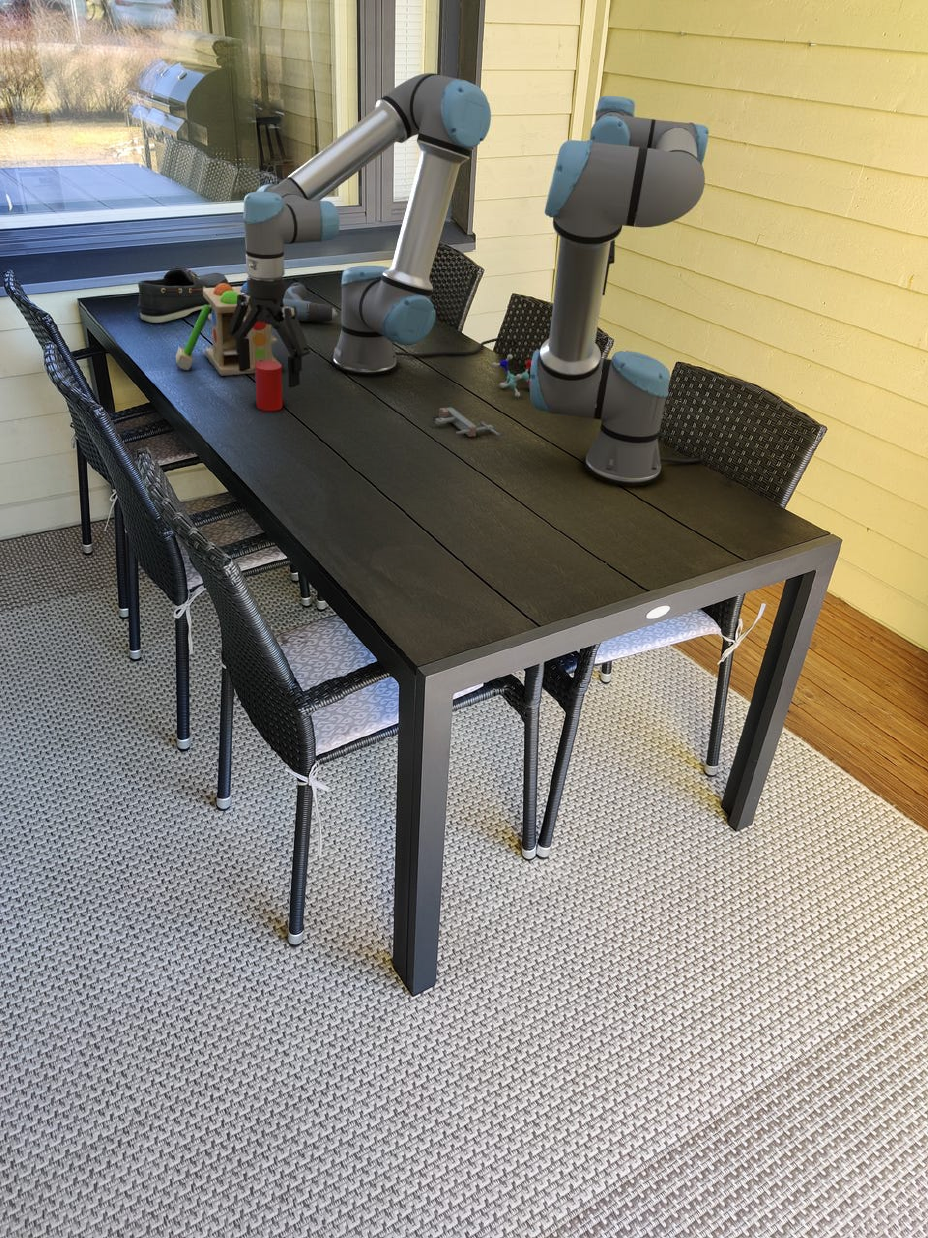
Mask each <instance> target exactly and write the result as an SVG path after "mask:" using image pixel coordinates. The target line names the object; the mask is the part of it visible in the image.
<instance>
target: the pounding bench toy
mask: <svg viewBox="0 0 928 1238" xmlns="http://www.w3.org/2000/svg"><path fill="white" fill-rule="evenodd" d="M246 292H247V282H245V283H244V284H243V285H242V286H232V285H230V284H229V285H228V284H226V283H221V284H218V285H217V286H216V287H215V288H204V289H203V296H204V297H205V299H206V300H207V301H208V302H209V304H210V305H211V307H210V306H208V305H204V307H203V309H201V312H200V313H199V316H198V318H197V320H196V322H195V324H194V327H193V329H192V331H191V332H190V333H191V334H190V336H189V338H188V340H187V343H186V344H185V347H184V348H182V347H180V346H179V347H178V349H177V351H176V354H175V357H174V358H175V362H176V365H177V366H178V368H179V369H182V370H185V371H189V370H190V369H191V367H192V365H193V363H194V356H193V351H194V348H195V347H196V345H197V342H198V340H199V337H200V336H201V333H202V332H203V329H204V326H205V325H206V322H207V320H209V321H210V322H211V336H212V337H211V338H212V339H211V340H212V348H205V349H204V352H205V353H204V355H205V357H206V359H208V361H209V363H210V364H211V365H212V366H213V367H214V369H215V370H216V371H217V372H218V374H219V375H220V376H222V377H223V376H234V375H235V376H236V375H246V374H247V375H250V374H255V364H256V363H257V362H260V361H275V362H278V363H280V362H279V360H278V359H277V358H276V357H275V356H274V355H273V348H272V347H273V345H272V344H276V343H278V342H279V341H278V339H277V338H276V337H275V336H274V334H272V325H269V324H266V323H265V322H259V321H257V322H256V324H255V325H254V326H253V328H252V329H251V330H250V332H249V333H248V334H247V337H244V339H245V338H248V339H249V348H250V369H248V370H245V371H242V372H241V371H239V356H238V354H237V352H236V340H235V339H234V336H232V335H229V334H228V333H227V330H228V327H229V325H230V322H231V319H232V316H233V314H234V311H235V308H236V306H237V296H238V295H239V294H243V293H246ZM251 310H252V309H251V307H250V305H249V306H248V309H247V312H246V315H245V317H244V320H243V323H244V321H245V320H246V319H247V316H248V314H249V313H250V312H251ZM243 323H242V324H243Z"/></svg>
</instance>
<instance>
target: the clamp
mask: <svg viewBox="0 0 928 1238" xmlns="http://www.w3.org/2000/svg"><path fill="white" fill-rule="evenodd" d="M434 423H435V425H436V426H443V425H446V424H449V423H452V424H453V425H454V426H455V427H456V428H457V429H459V430H457V431H455V435H464V434H465V435H467V436H468V437H469V438H471V437H476V436H477V433H478V432H484V431H485V432H492V433H493V434H494V435H495V436H496V437H497V438H501V437H502V434H501V432H497V431H496V430H495V429H494V427H493V424H486V423H485V421H484V420H482V421H480V426H481V427H477V425H475V424H474V423H473V422H472V421H471V420H469V419H468V418H467V417H465V416H464V415H462V414H461V413H460V412H459V411H457V410H456V409H454V408H453V407H441V408H439V411H438V417H437V418H435V421H434Z"/></svg>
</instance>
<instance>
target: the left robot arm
mask: <svg viewBox="0 0 928 1238" xmlns="http://www.w3.org/2000/svg"><path fill="white" fill-rule="evenodd" d="M491 121H492V111H491V106H490V102H489V101H488V97H487V95H486V94H485V92H484V91H483V89H482V88H480V87H479V86H477V85H476V84H474V83H471V82H469V81H467V80H464V79H461V78H456V77H455V78H454V77H450V76H446V75H442V74H438V73H435V72H427V73H420V74H418V75H414V76H413V77H411V78H409V79H407V80H405V81H404V82H402V83H400V84H399V85H397V86H396V87H394V88H393V89H391V90H390V91H389V92H387V93H386V94H385V95H383V96H382V97H381V98H379V99H378V100H377V101H376V103H375V109H374V110H373V111H371V112H370V113H368V115H366V116H365V117H364V118H362V119H361V120H360V121H358V122H357V123H355V124H354V125H353V126H352V127H351V128H349V129H347V130H346V131H345V132H344V133H343V134H341V135H340V136H339V137H337V138H336V139H335V140H334V141H332V142H331V143H330V144H328V145H327V146H326V147H324V148H323V149H322V150H321V151H320V152H318V153H317V154H315V155H314V156H313V157H311V158H310V159H309V160H308V161H307V162H305V163H304V164H303V165H301V166H300V167H299V168H297V169H295V171H293V172H292V173H291V174H290V175H288V176H287V177H286V178H284V179H283V180H281V182H279V183H277V184H275V183H271V184H270V183H268V184H264V185H262V186H260V187H258V189H257V190H256V191H253V192H249V193H247V194H246V195H245V196H244V199H243V216H242V220H243V225H244V226H243V228H244V243H245V267H246V268H245V269H246V274H247V277H246V283H247V292H246V293H243V294H239V295H238V296H237V306H236V308H235V311H234V314H233V316H232V319H231V322H230V325H229V327H228V330H227V333H228V334H229V335H232V336H234V339H235V340H236V352H237V354H238V356H239V371H241V372H242V371H245V370H248V369H250V348H249V339H248V338H245V339H244V337H247V334H248V333H249V332H250V330H251V329H252V328H253V326H254V325H255V324H256V322H257V321H259V322H265V323H266V324H269V325H271V328H273V329H274V330H275V331H276V332H277V334H278V336H279V337H280V339H281V342H283V344H284V346H285V348H286V349H287V351H288V353H289V354H290V355H289V356H288V357H287V377H288V382H287V383H288V388H290V389H292V388H294V387H297V386H299V385H300V384H301V381H300V372H302V370H303V368H302V367H303V365H302V364H303V363H302V362H303V361H302V359H303V357H305V356H307V355H310V353H311V351H310V348H309V346H308V343H307V340H306V336H305V334H304V332H303V329H302V325H301V323H300V321H299V320H298V318H297V309H296V307H295V306H291V307H286V306H284V304H283V298H284V295H285V292H286V285H285V284H286V283H285V278H284V276H285V273H286V271H285V245H292V244H305V243H306V244H307V243H318V242H319V243H322V242H327V241H331V240H334V239H335V238H336V237H337V236H338V234H339V232H340V215H339V212H338V209H337V207H336V205H335V204H334V203H333V202H332V201H329V200H323V199H324V198H326V197H327V196H328V195H329V194H331V193H332V192H333V191H334V190H336V189H337V188H339V187H340V186H342V184H344V183H345V182H346V181H348V180H349V179H350V178H351V177H353V176H354V175H356V174H357V173H358V172H359V171H360V170H362V169H363V168H364V167H366V166H367V165H368V164H369V163H371V162H372V161H373V160H375V159H376V158H377V157H379V156H380V155H382V154H383V153H384V152H385V151H386V150H387V149H389V148H390V147H392V146H393V145H394V144H396V143H398V144H399V143H400V144H404V143H405V142H406V141H408V140H409V139H410V138H412V137H414V136H417V137H416V143H417V145H418V148H419V149H420V155H419V160H418V163H417V167H416V171H415V175H414V179H413V183H412V187H411V190H410V194H409V198H408V202H407V206H406V208H405V209H406V210H405V213H404V217H403V220H402V225H401V229H400V232H399V235H398V236H399V237H398V240H397V243H396V248H395V252H394V255H393V259H392V262H391V263H392V264H391V266H390V267H388V266H383V265H355V266H351V267H347V268H346V269H344V270H343V272H342V275H341V283H340V287H341V316H340V317H341V319H340V321H341V324H340V325H341V326H340V329H341V330H340V336H339V338H338V341H337V344H336V346H335V347H334V350H333V361H332V362H333V363H332V364H333V366H334V367H335V368H337V369H338V370H339V371H342V372H344V373H347V374H352V375H356V376H380V375H381V376H382V375H386V374H389V373H391V372H393V371H395V369H396V368H397V361H398V360H397V356H405V357H417V358H418V357H422V358H423V357H431V356H441V355H443V356H445V355H457V356H458V355H461V356H464V355H465V356H468V355H474V354H477V353H479V352H480V351H481V350H482V347H483V346H485V345H487V344H491V343H495V342H498V341H504V340H503V339H504V338H502V337H503V336H502V337H501V336H500V337H501V338H500V337H495V338H492V339H488V340H484V341H482V342H480V344H478V348H477V349H474V350H469V351H454V350H453V351H434V352H433V351H432V352H425V353H424V352H423V353H410V352H400V351H395V347H394V343H396V344H399V345H400V346H412V345H416V344H418V343H419V342H420V341H422V340H424V339H425V338H426V337H427V336H428V335H429V334H430V332H431V331H432V329H433V327H434V325H435V322H436V309H435V308H434V304H433V302H432V301H431V297H432V294H433V290H434V287H433V284H432V282H431V281H430V275H431V272H432V268H433V265H434V261H435V257H436V255H437V250H438V246H439V242H440V239H441V235H442V233H443V229H444V225H445V221H446V218H447V214H448V210H449V206H450V203H451V200H452V195H453V192H454V189H455V185H456V181H457V178H458V174H459V170H460V167H461V165H462V164H463V163H465V162H466V161H469V160H470V158H471V154H472V151H473V148H475V147H477V146H479V145H480V143H481V142H484V140H485V139H486V137H487V135H488V133H489V131H490V127H491V124H492V123H491ZM249 305H250V307H251V309H252V310H251V312H250V313H249V314H248V316H247V319H246V320H245V321H244V323H243V320H244V317H246V316H245V315H246V312H247V309H248V306H249ZM283 313H284V315H283ZM242 323H243V324H242ZM499 338H500V340H499ZM508 341H509V342H511V343H513V344H514V345H517V344H516V343H515V342H512V341H510V340H508Z"/></svg>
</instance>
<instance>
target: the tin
mask: <svg viewBox="0 0 928 1238" xmlns="http://www.w3.org/2000/svg"><path fill="white" fill-rule="evenodd" d="M278 362H279V361H278ZM278 362H275V361H260V362H257V363H256V364H255V373H254V376H255V401H256V403H255V404H256V408H257V409H259V410H261V411H264V412H275V411H276V412H277V411H279V410H281V409H282V408H283V371H282V369H283V368H282V364H281V363H280V362H279V363H278Z"/></svg>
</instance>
